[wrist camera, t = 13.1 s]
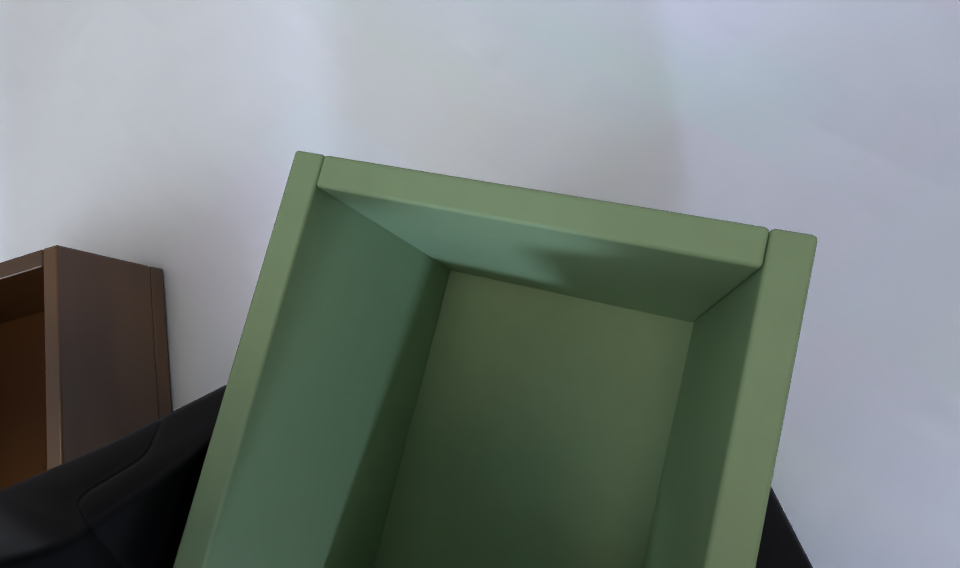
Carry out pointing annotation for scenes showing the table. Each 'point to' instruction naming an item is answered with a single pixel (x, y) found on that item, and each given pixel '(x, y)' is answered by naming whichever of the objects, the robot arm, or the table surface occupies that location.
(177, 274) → the table surface
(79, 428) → the box
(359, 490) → the box
